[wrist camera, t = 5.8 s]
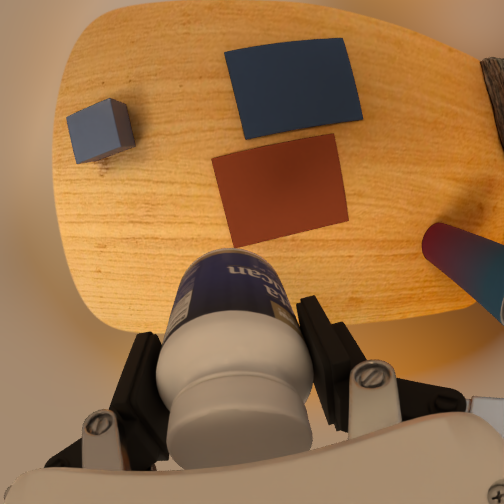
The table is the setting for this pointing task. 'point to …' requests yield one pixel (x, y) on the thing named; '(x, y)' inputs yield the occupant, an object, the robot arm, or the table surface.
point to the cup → (469, 264)
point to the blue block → (100, 131)
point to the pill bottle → (234, 365)
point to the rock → (496, 88)
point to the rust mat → (281, 189)
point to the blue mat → (293, 86)
